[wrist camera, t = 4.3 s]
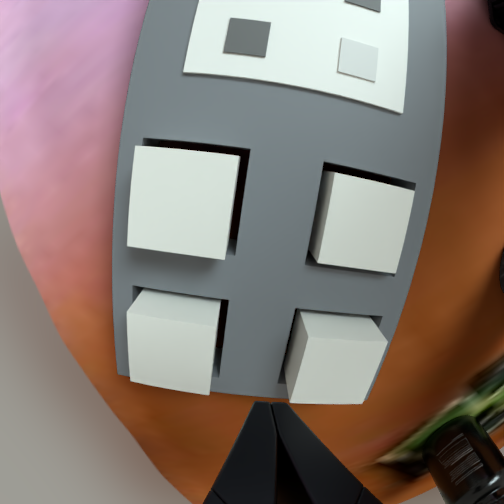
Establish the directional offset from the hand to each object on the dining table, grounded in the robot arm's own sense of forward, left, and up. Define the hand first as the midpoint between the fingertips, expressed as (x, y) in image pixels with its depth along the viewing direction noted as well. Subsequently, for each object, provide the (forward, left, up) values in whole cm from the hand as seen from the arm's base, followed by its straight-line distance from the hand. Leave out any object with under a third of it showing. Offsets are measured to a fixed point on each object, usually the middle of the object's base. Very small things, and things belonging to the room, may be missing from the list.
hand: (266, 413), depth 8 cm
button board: (0, -7, -11) cm, 13 cm away
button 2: (+4, +3, -9) cm, 10 cm away
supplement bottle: (-22, +15, -11) cm, 29 cm away
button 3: (-4, -4, -10) cm, 12 cm away
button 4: (-4, +3, -9) cm, 10 cm away
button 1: (+4, -4, -9) cm, 11 cm away
